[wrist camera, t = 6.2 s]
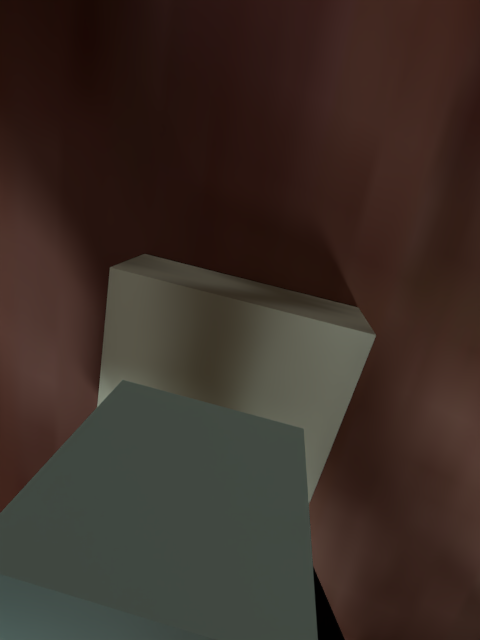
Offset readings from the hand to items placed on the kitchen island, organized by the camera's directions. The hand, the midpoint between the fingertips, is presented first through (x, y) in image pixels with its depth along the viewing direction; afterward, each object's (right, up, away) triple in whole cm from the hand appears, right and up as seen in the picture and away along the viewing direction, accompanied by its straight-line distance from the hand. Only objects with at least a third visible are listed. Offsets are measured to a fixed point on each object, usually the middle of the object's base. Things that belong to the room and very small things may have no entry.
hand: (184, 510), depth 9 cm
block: (0, 0, +1) cm, 1 cm away
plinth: (+1, +2, +7) cm, 7 cm away
